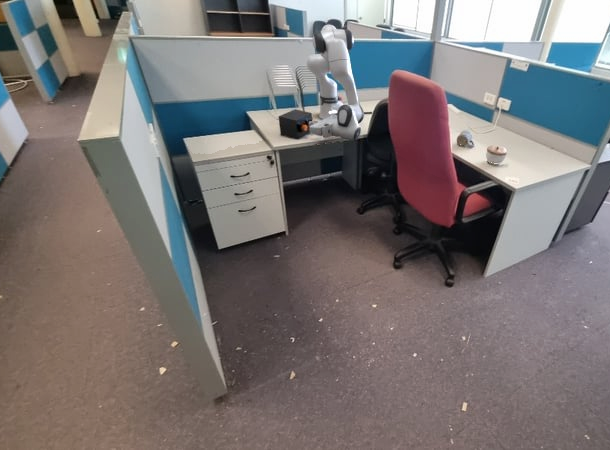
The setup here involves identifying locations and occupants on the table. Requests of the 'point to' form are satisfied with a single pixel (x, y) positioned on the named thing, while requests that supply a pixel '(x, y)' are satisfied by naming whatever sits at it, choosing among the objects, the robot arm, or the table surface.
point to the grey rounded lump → (465, 139)
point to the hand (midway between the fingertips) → (311, 122)
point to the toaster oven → (294, 123)
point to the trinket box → (495, 154)
